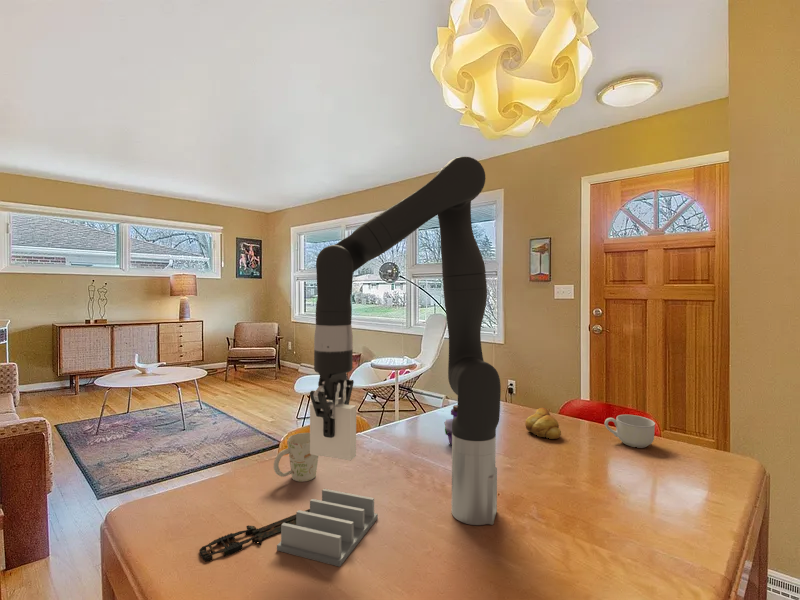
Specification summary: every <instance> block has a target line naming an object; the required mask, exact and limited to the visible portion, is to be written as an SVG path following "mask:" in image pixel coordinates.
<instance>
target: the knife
mask: <svg viewBox="0 0 800 600" xmlns="http://www.w3.org/2000/svg"><path fill="white" fill-rule="evenodd" d="M305 511H306V512H310V508H309V509H306V510H305ZM283 523H288V524H292V525H296V513H295V514H293V515H291V516H287V517H285V518H283V519H280V520H277V521H275V522H272V523H270V524H267V525H264V526H262V527H259V528H257V527H256V526H255V525H246V530H240V531H236V532H235V533H232V532H231V533H228V534H226V535H224V536H221V537H218V538H216V539H214V540H213V541H211V542H209V543H207V544H206V545H204V546H201V547H200V549H199V555H200V557H201V558H202V560H203V561H204V562H205V563H209V562H211V560H212V561H213V556H214V555H216V554H222V553H223V557H224V558H225V557H227V556H228V557H229V556H230V555H233V554H235V552H236V553H238V552H240V551H239V550H241V549H243V545H246V544H248V543H250V542H251V543H252V542H255V543H256V544H257V545H259V546H262V542H264V539H265V538H268V537H270V536H272V535H275V534H277V533H281V525H282V524H283ZM242 534H245V536H246V535H247V536H250V535H252V537H249V538H247V539H244V540H242V541H237V539H236V537H237V536H240V535H242ZM230 540H233V542H231V541H230ZM225 542H227V544H228V546H227V545H226V543H225ZM257 542H259V543H257ZM255 543H254V544H255ZM220 544H221V545H222V546H223V547H224V548H221V549H218V550H216V551H215V549H214V548H213V545H220ZM207 548H209V549H210V551H207ZM237 551H238V552H237ZM241 551H242V550H241Z"/></svg>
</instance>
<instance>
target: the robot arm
mask: <svg viewBox="0 0 800 600" xmlns="http://www.w3.org/2000/svg"><path fill="white" fill-rule="evenodd" d="M485 184H486V172H485V169H484V167H483V165H482V164H481V163H480V161H478V160H477V159H475V158H474V157H470V156H466V155H465V156H463V155H462V156H457V157H455V158H452V159H451V160H449V161H448V162H447V163H446V164H445V165H443V167H441V168H440V170H438V172H437V173H436V175H435V176H434V177H433V178H432V179H431V180H430V181H428V182H427V183H426V184H424V185H422V186H421V187H420V188H419V189H418V190H416V191H414V192H413V193H411V194H409V195H408V196H407V197H405V198H404V199H402V200H400V201H399V202H397V203H395V204H393V205H392V206H390V207H388V208H387V209H385V210H383V211H381V212H380V213H378V214H377V215H375V216H374V217H372V218H371V219H369V220H368V221H365V222H364V223H363V224H361V225H360V226H359V227H357V228H356V229H355V230H354V231H353V232H352V233H351V234H350V235H349V236H347V237H345V238H343V239H342V240H340V241H339V242H337V243H335V244H332V245H331V244H330V245H328V246H326V247H324V248H323V249H321V250H320V251H319V253H318V255H317V256H316V260H315V268H316V269H315V270H316V290H317V291H316V293H317V294H316V295H317V296H316V297H317V298H316V301H315V302H316V304H315V327H314V336H313V339H314V340H313V345H314V346H313V347H314V348H313V352H314V353H313V355H314V356H313V361H314V362H313V370H314V372H316V373H317V374H319V379H318V383H317V385H318V387H317V388H316V389H315V390H310V392H309V396H310V400H311V404H313V407H314V410H315V413H316V416H317V417H322V418H323V435H324V437H329V438H332V437H334V436H335V407H336V406H337V405H338V404H346V405H350V402H351V396H352V390H353V387H354V383H355V382H354V379H350V378H348V374H347V373H350V372H352V370H353V350H354V349H353V348H354V347H353V343H354V342H353V340H354V339H353V328H352V312H353V311H352V290H353V289H352V288H353V277H354V272H356V271H357V270H358V269H360V268H361V267H363V266H364V265H365V264H367V263H368V262H369V261H371V260H374V259H376V258H377V257H380V256H381V255H383V254H384V253H385V252H387V251H389V250H390V249H392V248H393V247H394V246H396V245H398V244H400V243H401V242H402V241H403V240H404V239H406V238H408V236H410V235H411V234H413V233H414V232H416V230H417V229H420V227H422V226H423V225H424V224H426V223H427V222H428V221H430V220H431V219H433V218H435V217H436V216H437V218H438V224H439V233H440V252H441V253H440V254H441V255H440V256H441V270H442V271H441V272H442V273H441V274H442V286H443V287H442V288H443V297H444V305H445V317H446V325H447V333H448V364H447V365H448V366H447V373H448V375H447V377H448V379H447V380H448V382H449V386H450V388H451V390H452V392H454V394H455V395H456V396H457V405H458V406H457V417H456V418H454V419H453V418H452V419H453V422H452V446H451V504H450V505H451V514H452V516H453V518H454V519H456V521H457V520H458V522H461V523H462V524H466V525H471V526H483V525H491V526H492V525H494V523H495V518H496V515H497V510H498V468H497V465H496V462H497V461H496V456H497V455H496V454H497V453H496V452H497V451H496V449H497V448H496V447H497V446H496V445H497V443H496V440H497V438H496V436H497V435H496V434H497V433H496V432H497V427H498V425H499V423H500V414H501V395H502V394H501V393H502V390H501V388H502V387H501V378H500V375H499V373H498V371H497V369H496V368H495V367H494V366H493V365H492V364H490V363H489V362H487V361H485V360H484V355H483V351H482V348H483V347H482V339H481V332H482V324H483V319H484V315H485V311H486V308H487V307H486V306H487V299H488V286H487V274H486V273H487V271H486V265H485V261H484V258H483V254H482V252H481V249H480V247H479V246H478V243H477V240H476V237H475V234H474V231H473V227H472V225H473V224H472V210H471V209H472V208H471V207H472V201H474V200H475V199H477V197H478V196H479V195H480V194H481V192H482V191H483V189H484V187H485ZM328 406H330V410H329V407H328ZM321 409H322V410H321Z"/></svg>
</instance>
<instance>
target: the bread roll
mask: <svg viewBox="0 0 800 600" xmlns="http://www.w3.org/2000/svg"><path fill="white" fill-rule="evenodd" d="M550 413H551V412H549V410H548V409H547V408H545V407H540V408H537V409H536V411H535V413H534V414H532V415H529V416H528V417H527V418H526V420H525V423H524V425H525V428H526V430H527V432H529V433H532V434H533V435H534V436H536V435H537V437H541V438H545V437H546V439H548V438H549V440H556V439H559V438H560V437H561V435H562V431H561V429H560V428H559V427H560V424H559V422H558V421H557V419H556V417H554V416H553V415H551V414H550Z"/></svg>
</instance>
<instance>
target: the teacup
mask: <svg viewBox="0 0 800 600" xmlns="http://www.w3.org/2000/svg"><path fill="white" fill-rule="evenodd" d="M609 422H613V423H614V426H615V428H616V429H615V430H614V429H612V428H611V427H610V426H609ZM604 426H605V428H606V429H607V430H608V431H609V432H610V433H612V434H613V436H615V437H616V438H618V439H619V440H620V441H621V442H622V443H623V444H625V445H626V446H629V447H632V448H635V447H637V448H636V449H644V448H646V447H648V446H650V445H652V444H653V442H654V440H655V430H656V429H655V428H656V427H655V426H656V422H655V421H654V420H652V419H650V418H647V417H645V416H640V415H636V414H635V415H634V414H619V415H617V416H616V418H614V417H607V418H606V419H605V421H604Z"/></svg>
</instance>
